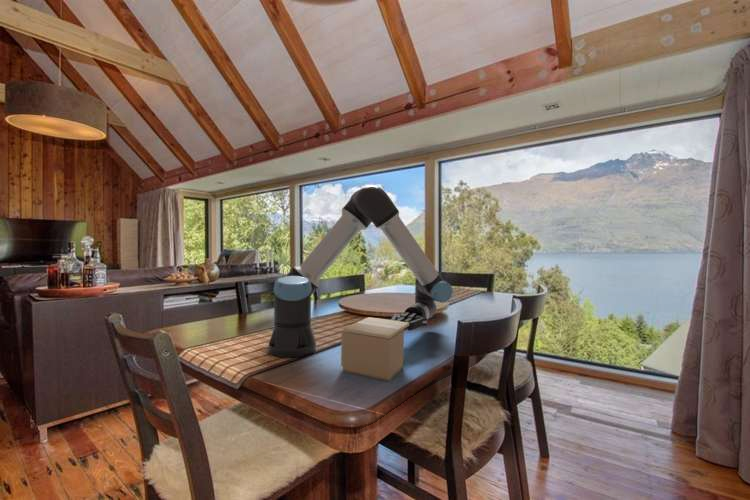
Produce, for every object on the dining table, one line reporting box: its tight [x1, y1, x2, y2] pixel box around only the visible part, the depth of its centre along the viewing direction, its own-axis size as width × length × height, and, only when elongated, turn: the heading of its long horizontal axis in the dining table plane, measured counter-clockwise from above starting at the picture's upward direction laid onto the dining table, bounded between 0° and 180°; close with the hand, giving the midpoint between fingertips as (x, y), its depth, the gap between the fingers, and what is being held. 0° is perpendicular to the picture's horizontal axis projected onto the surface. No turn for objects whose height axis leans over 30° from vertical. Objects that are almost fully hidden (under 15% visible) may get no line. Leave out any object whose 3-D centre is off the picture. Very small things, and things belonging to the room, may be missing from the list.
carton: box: [340, 330, 405, 382], centre depth 96 cm, size 15×10×11 cm
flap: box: [343, 316, 409, 339], centre depth 98 cm, size 14×15×1 cm
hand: (392, 330), depth 106 cm, fingers closed
